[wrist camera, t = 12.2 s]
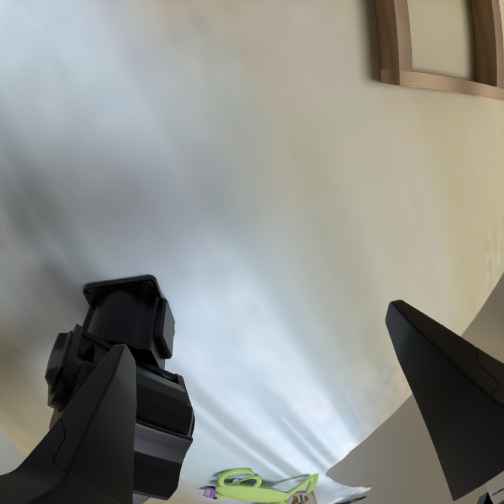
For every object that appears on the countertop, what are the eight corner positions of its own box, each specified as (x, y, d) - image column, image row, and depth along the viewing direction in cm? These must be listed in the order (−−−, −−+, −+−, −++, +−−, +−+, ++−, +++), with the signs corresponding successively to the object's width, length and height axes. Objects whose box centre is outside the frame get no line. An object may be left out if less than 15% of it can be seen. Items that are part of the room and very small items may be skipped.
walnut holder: (380, 82, 18) (399, 85, 16) (365, -53, 12) (383, -63, 10) (483, 95, 18) (503, 101, 16) (475, -18, 13) (495, -20, 11)
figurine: (272, 494, 65) (275, 511, 61) (183, 484, 54) (184, 506, 49) (326, 472, 59) (331, 491, 54) (234, 463, 48) (237, 490, 43)
